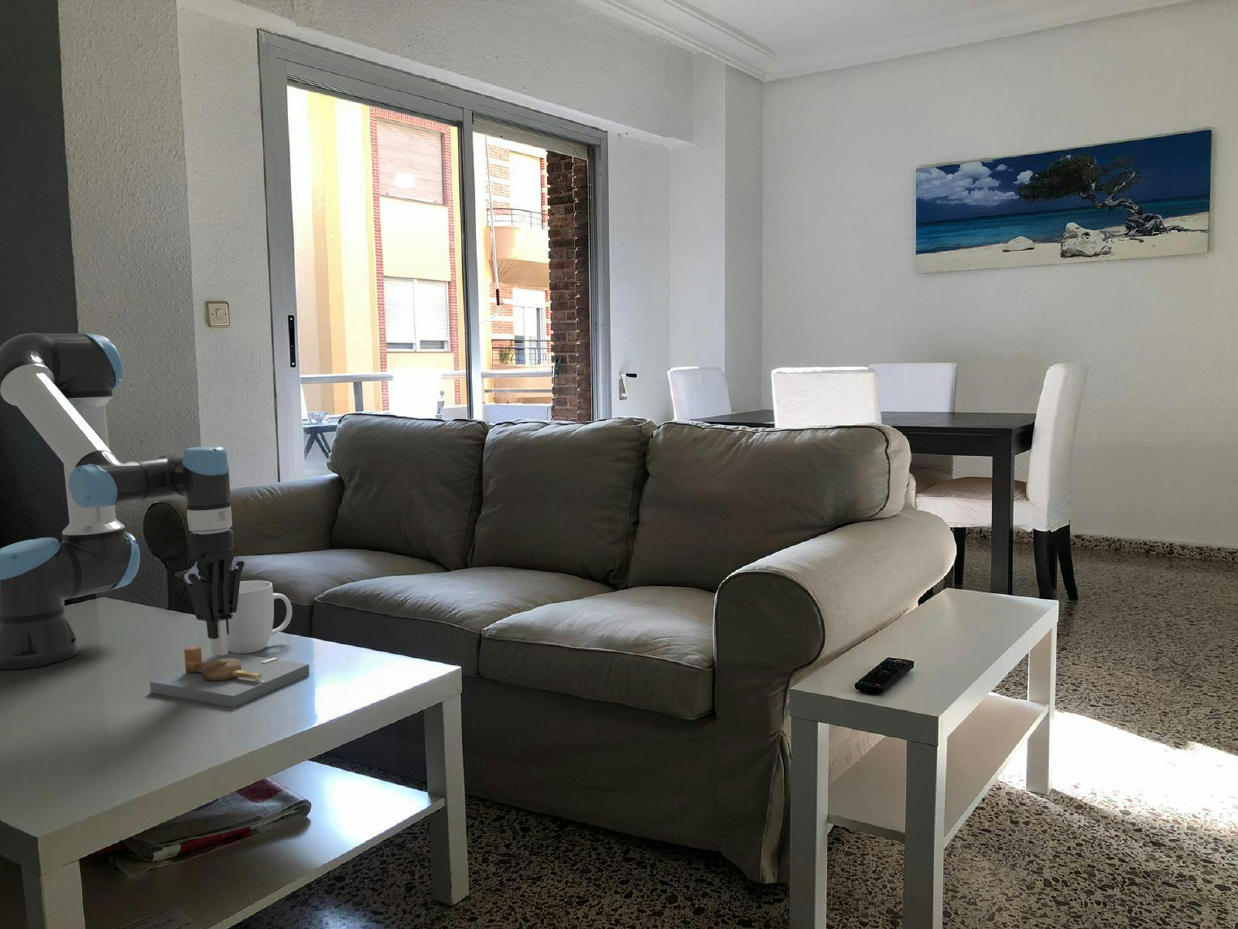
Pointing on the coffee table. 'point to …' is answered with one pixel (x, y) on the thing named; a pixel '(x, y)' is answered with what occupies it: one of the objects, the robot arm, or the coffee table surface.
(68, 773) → the coffee table surface
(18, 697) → the coffee table surface
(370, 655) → the coffee table surface
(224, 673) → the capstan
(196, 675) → the board
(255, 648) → the mug
